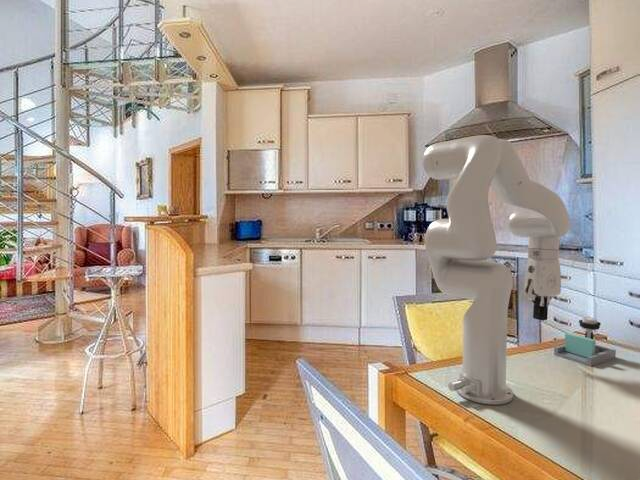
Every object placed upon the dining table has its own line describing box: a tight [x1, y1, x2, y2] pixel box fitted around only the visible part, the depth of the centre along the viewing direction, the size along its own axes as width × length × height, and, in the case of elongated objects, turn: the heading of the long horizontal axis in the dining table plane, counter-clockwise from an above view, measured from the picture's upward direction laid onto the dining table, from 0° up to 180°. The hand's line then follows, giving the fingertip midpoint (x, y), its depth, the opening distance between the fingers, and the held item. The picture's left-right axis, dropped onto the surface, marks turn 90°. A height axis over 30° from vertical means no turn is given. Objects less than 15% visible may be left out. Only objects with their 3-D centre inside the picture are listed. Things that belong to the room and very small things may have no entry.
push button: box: [578, 316, 602, 340], centre depth 113 cm, size 7×5×10 cm
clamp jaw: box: [564, 332, 596, 357], centre depth 111 cm, size 2×7×5 cm, turn 27°
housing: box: [553, 343, 617, 367], centre depth 113 cm, size 13×10×2 cm
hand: (540, 319), depth 109 cm, fingers closed
